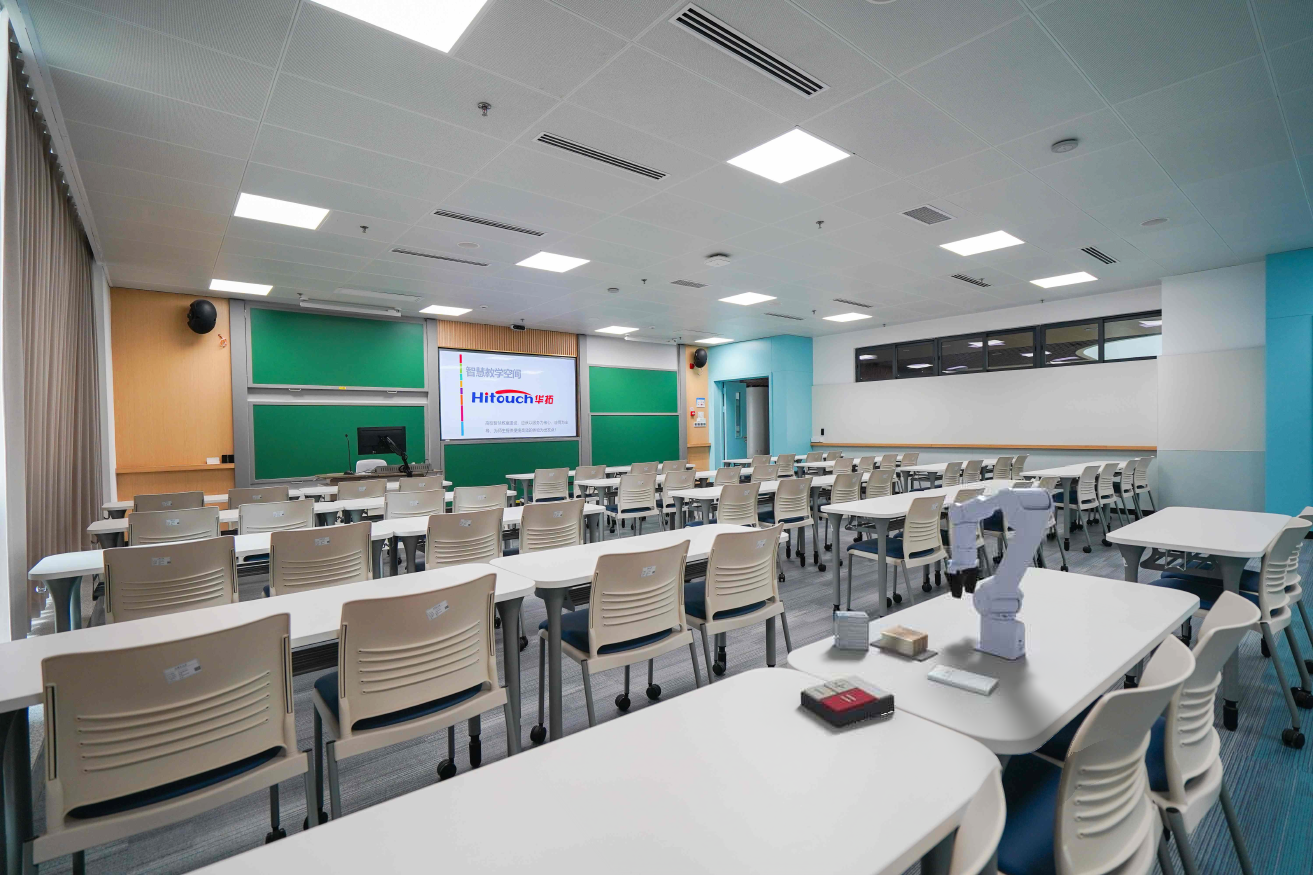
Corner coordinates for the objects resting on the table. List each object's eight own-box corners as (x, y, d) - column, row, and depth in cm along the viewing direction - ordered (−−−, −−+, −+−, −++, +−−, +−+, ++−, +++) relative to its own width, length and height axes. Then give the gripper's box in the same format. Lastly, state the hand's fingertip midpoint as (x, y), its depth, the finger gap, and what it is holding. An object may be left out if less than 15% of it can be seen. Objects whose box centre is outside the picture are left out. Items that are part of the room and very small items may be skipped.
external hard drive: (988, 698, 126) (927, 680, 135) (998, 686, 132) (939, 669, 141) (988, 690, 126) (927, 673, 135) (998, 678, 132) (939, 663, 141)
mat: (937, 653, 149) (937, 652, 149) (921, 661, 144) (921, 659, 144) (886, 637, 160) (886, 636, 160) (869, 644, 155) (869, 642, 155)
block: (927, 634, 152) (911, 641, 147) (927, 647, 152) (911, 655, 147) (898, 625, 158) (881, 632, 153) (898, 638, 158) (881, 645, 153)
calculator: (799, 687, 122) (854, 671, 129) (800, 708, 122) (855, 690, 129) (837, 711, 112) (895, 691, 119) (837, 733, 112) (895, 713, 119)
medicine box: (865, 644, 155) (865, 611, 155) (869, 650, 151) (869, 616, 151) (834, 643, 156) (834, 610, 156) (837, 649, 152) (837, 615, 152)
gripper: (961, 541, 173) (960, 587, 173) (936, 547, 164) (936, 596, 164) (987, 545, 167) (986, 593, 168) (962, 551, 158) (962, 602, 159)
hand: (963, 595), depth 165 cm, fingers open, 7 cm apart
